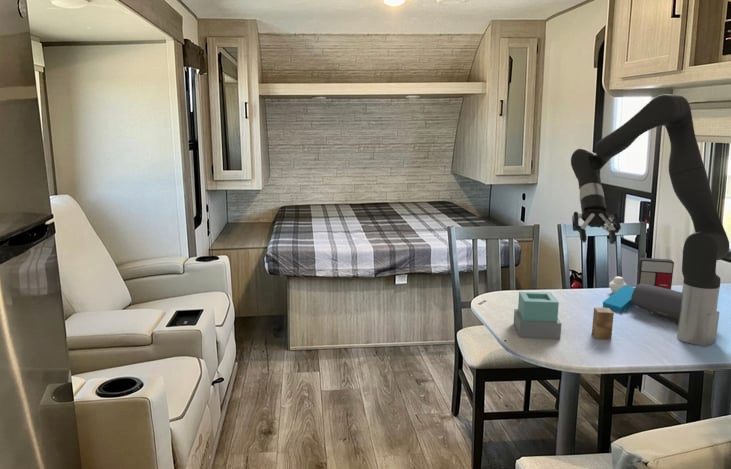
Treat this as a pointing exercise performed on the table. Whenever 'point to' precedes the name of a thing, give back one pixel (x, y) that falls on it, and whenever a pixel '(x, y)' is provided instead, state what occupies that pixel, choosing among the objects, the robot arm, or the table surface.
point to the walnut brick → (602, 323)
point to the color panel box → (655, 272)
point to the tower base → (536, 328)
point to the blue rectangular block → (620, 299)
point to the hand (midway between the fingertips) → (598, 241)
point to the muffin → (617, 284)
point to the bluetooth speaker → (658, 301)
